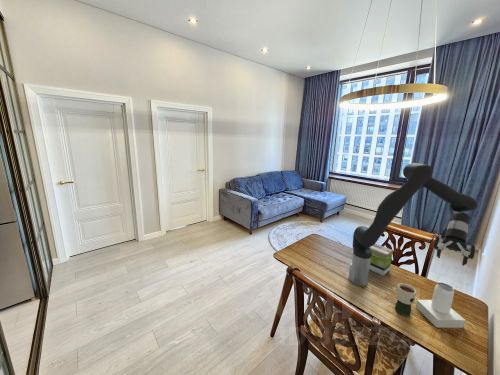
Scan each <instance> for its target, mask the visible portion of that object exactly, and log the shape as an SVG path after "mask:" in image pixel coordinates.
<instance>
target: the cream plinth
mask: <svg viewBox="0 0 500 375" xmlns="http://www.w3.org/2000/svg"><path fill="white" fill-rule="evenodd" d="M431 303H432V299H416V303H415V308H416V309H417V310H418V311H419V312H420V313H421V314H423V316H424V317H425V318H426V319H427V320H428V321H429V322H430V323H431V324H432V325H433V326H434V327H435V328H449V329H453V328H454V329H460V328H461V329H463V328H464V327H465V324H466V319H465V318H464V317H462V315H460V314H459V313H457V311H455V310H454V309H453V308H452V307H451V308H450V312H449V313H448V314H442V313H439V312H437V311H436V310H434V309H433V308H432V306H431Z"/></svg>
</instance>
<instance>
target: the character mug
mask: <svg viewBox="0 0 500 375" xmlns="http://www.w3.org/2000/svg"><path fill="white" fill-rule="evenodd" d="M416 295H417V290H416V289H415V287H413V286H411V285H409V284H406V283H398V284H397V287H396V293H395V298H396V299H397V301H396V303H395V306H394V309H395V311H396V312H398V313H399V314H400V315H402V316H405V317H409V316H411V314H412V305H414V304H415V301H416Z"/></svg>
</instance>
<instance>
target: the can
mask: <svg viewBox="0 0 500 375" xmlns="http://www.w3.org/2000/svg"><path fill="white" fill-rule="evenodd" d="M454 290H455V289H454V287H453V286H451V285H449V284H448V283H444V282H437V283H436V285H435V287H434V289H433V293H432V298H431V300H432V303H431V306H432V308H433V309H434V310H436V311H437V312H439V313H442V314H448V313H449V312H450V308H452V303H453V300H454V296H455V291H454Z"/></svg>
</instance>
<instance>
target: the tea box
mask: <svg viewBox="0 0 500 375" xmlns="http://www.w3.org/2000/svg"><path fill="white" fill-rule="evenodd" d="M370 249H371V252H372V256H371V263H370V270H369V271H372V272H374V273H377V274H379V275H381V276H382V277H383V276H385V275H386V274H387V273H388V272H389V271H390V269H391V264H392V258H393V253H394V250H393V249H390V248H388V247H385V246H383V245H380V244H377V243H375V244H374V245H373V246H371V247H370Z"/></svg>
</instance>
